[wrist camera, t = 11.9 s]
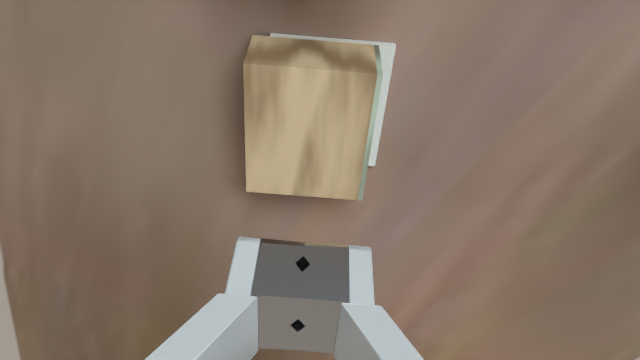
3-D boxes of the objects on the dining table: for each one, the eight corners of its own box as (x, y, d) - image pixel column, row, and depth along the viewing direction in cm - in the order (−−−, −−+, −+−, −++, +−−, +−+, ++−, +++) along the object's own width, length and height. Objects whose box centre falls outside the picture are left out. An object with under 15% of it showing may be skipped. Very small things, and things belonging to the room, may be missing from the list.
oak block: (252, 34, 40) (378, 45, 40) (253, 157, 48) (360, 165, 48) (243, 63, 36) (382, 74, 36) (246, 191, 44) (362, 200, 44)
